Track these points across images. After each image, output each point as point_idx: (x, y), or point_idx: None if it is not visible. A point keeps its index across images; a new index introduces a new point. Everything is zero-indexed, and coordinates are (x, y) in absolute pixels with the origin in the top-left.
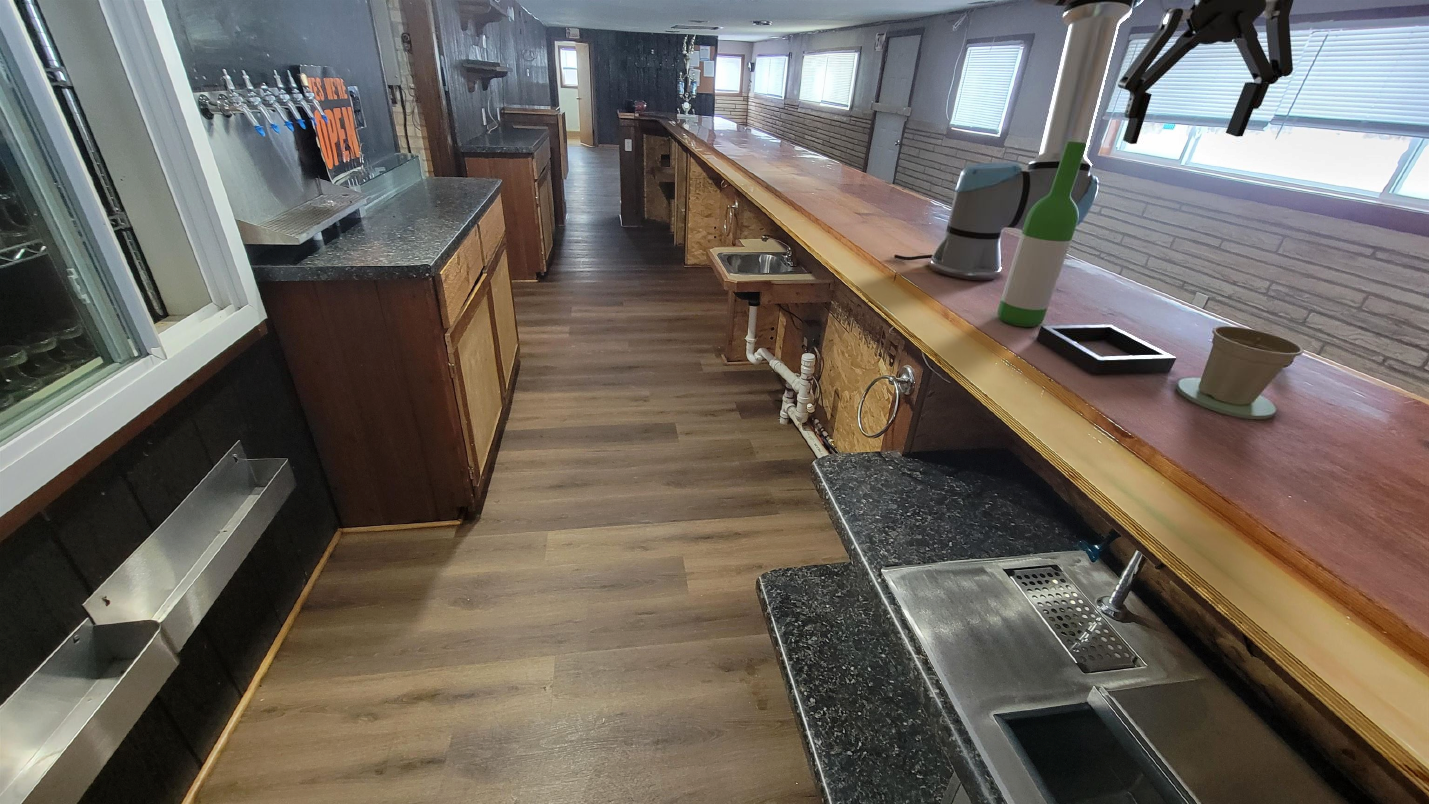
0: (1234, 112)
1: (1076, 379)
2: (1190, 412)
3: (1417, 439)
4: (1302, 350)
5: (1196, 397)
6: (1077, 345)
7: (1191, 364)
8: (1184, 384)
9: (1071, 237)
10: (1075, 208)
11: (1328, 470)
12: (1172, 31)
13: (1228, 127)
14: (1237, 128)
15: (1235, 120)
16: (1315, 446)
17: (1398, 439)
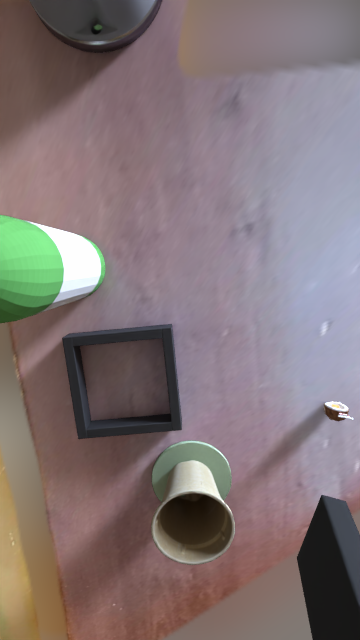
0: (347, 589)
1: (59, 438)
2: (134, 500)
3: None
4: (219, 555)
5: (155, 483)
6: (75, 400)
7: (227, 399)
8: (165, 458)
9: (46, 306)
10: (7, 308)
11: (177, 578)
12: None
13: (326, 519)
14: (306, 577)
15: (325, 579)
16: None
17: (294, 540)
